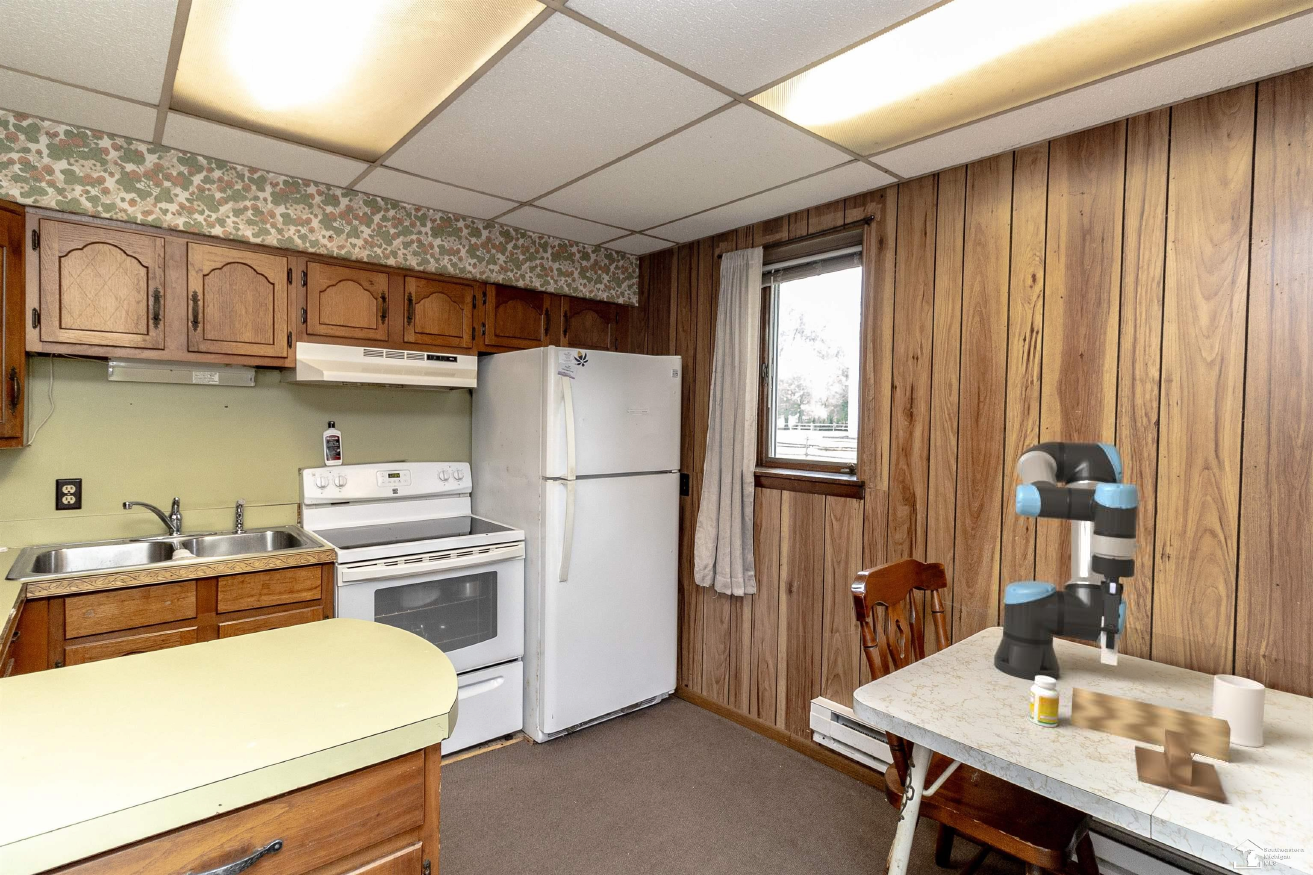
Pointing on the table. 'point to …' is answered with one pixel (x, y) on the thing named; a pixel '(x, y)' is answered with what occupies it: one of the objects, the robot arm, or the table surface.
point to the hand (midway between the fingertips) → (1108, 655)
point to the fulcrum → (1178, 769)
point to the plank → (1149, 722)
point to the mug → (1240, 708)
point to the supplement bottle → (1044, 702)
